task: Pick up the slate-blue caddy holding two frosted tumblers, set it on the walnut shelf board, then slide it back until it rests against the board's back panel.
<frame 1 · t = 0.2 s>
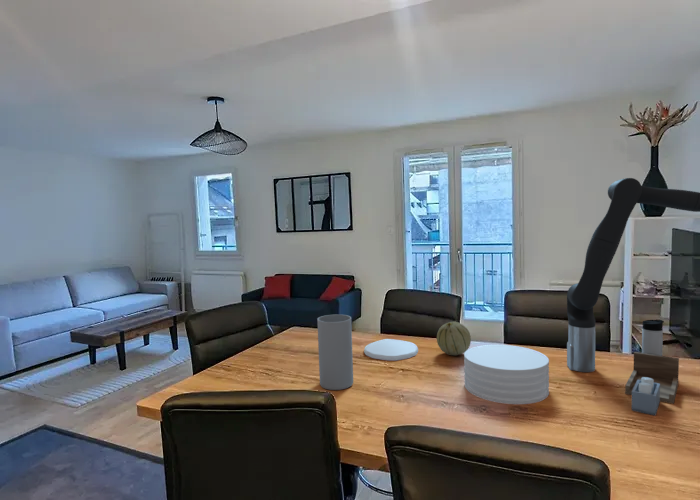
travel mug: (652, 373, 160), on the table
plate stack: (505, 388, 151), on the table
cantaloupe: (453, 355, 189), on the table
decorative plate: (391, 352, 197), on the table
shelf: (652, 388, 146), on the table
cylinder vase: (336, 384, 159), on the table
caddy: (645, 406, 133), on the table
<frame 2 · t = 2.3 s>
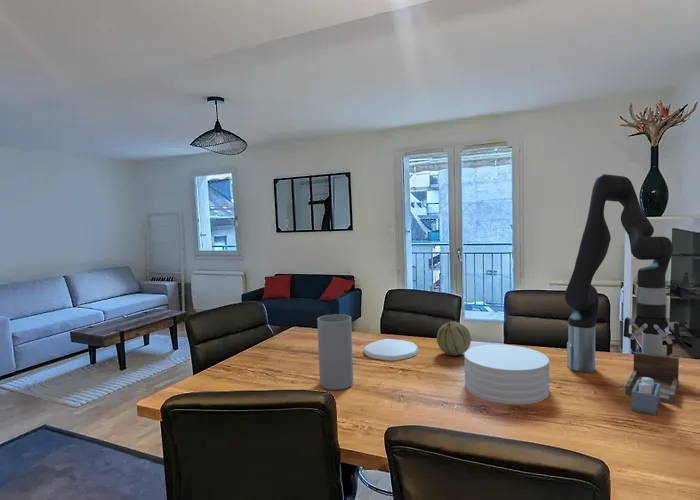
hand: (650, 353, 132), 17 cm above the table, tool pointing down, fingers open, 8 cm apart
nothing on the table moved.
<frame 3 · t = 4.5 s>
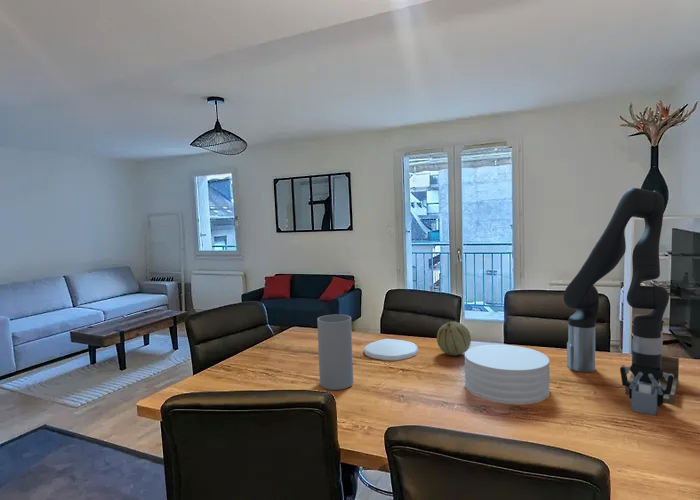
hand: (645, 402, 133), 1 cm above the table, tool pointing down, fingers closed on caddy, 6 cm apart
caddy: (645, 406, 133), on the table, touching gripper
everything else where it was.
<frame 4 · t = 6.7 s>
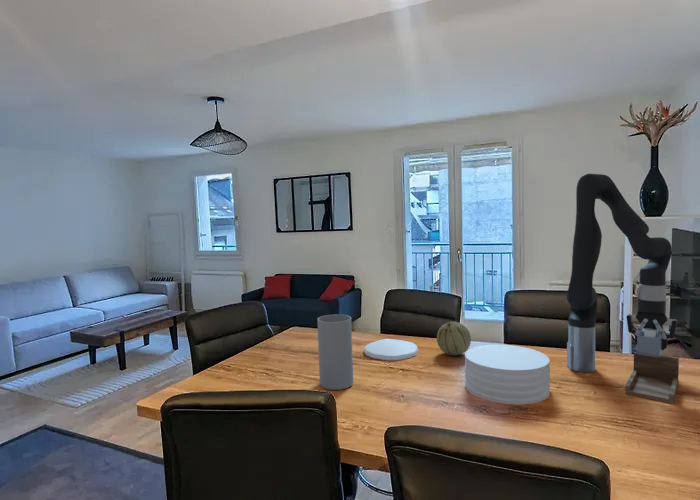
hand: (650, 347, 142), 15 cm above the table, tool pointing down, fingers closed on caddy, 6 cm apart
caddy: (650, 351, 142), point 14 cm above the table, touching gripper
everything else where it was.
when the fingers open (4 cm above the table, at t = 9.0 s): caddy drops 1 cm, resting on shelf.
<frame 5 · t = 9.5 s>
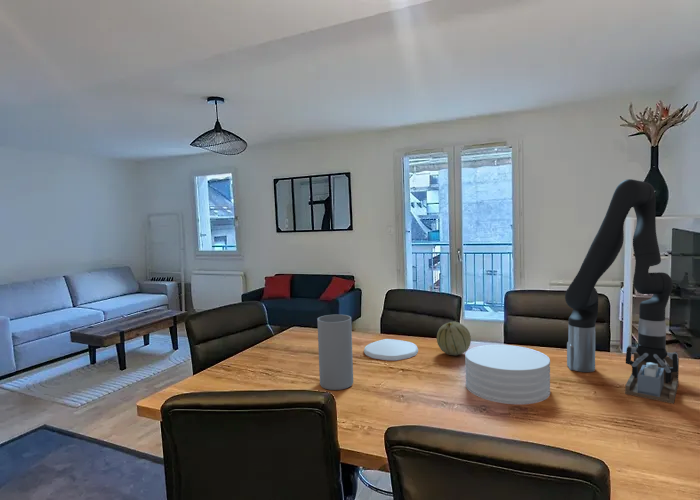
hand: (651, 380, 142), 4 cm above the table, tool pointing down, fingers open, 8 cm apart
caddy: (650, 388, 143), point 1 cm above the table, touching shelf
everything else where it was.
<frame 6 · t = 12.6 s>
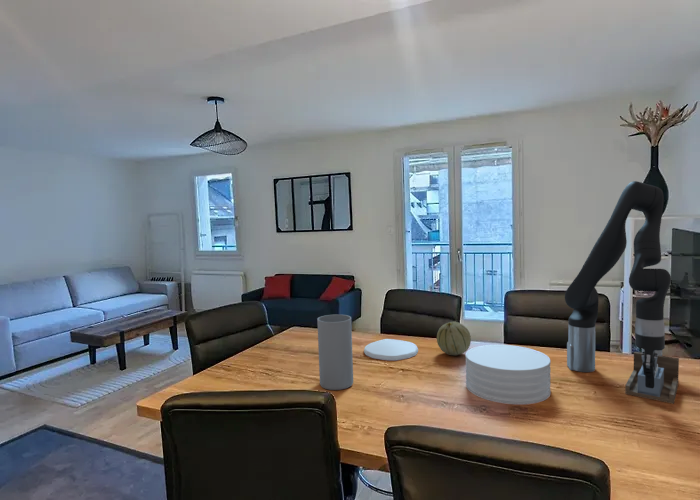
hand: (649, 387, 133), 6 cm above the table, tool pointing down, fingers closed
nothing on the table moved.
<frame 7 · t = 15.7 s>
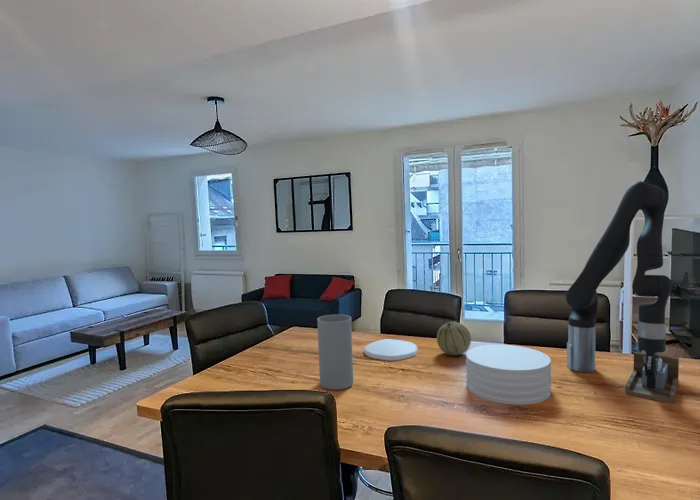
hand: (651, 387, 140), 3 cm above the table, tool pointing down, fingers closed
caddy: (655, 383, 147), point 1 cm above the table, touching gripper, hand, shelf
everything else where it was.
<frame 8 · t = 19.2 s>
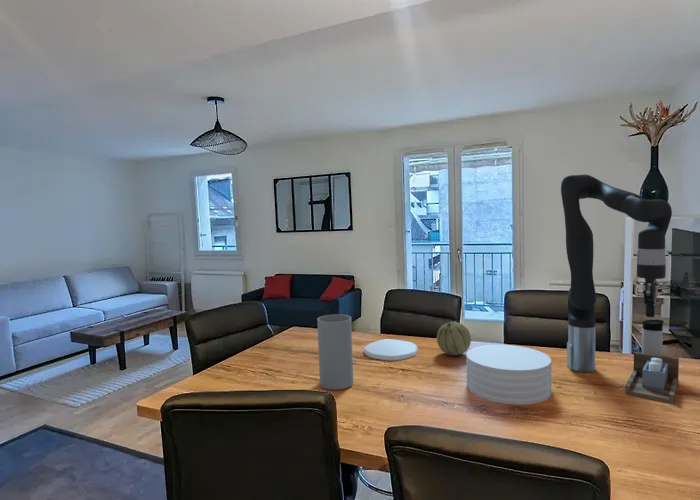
hand: (650, 316, 136), 27 cm above the table, tool pointing down, fingers closed
caddy: (655, 383, 147), point 1 cm above the table, touching shelf
everything else where it was.
at the end: caddy 0.9 cm from the target spot on the shelf, point 1.2 cm above the shelf's base; caddy tilted 0°; the gripper is holding nothing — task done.
